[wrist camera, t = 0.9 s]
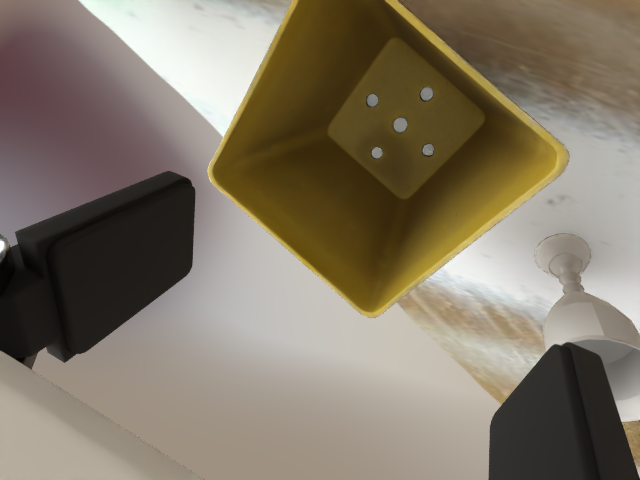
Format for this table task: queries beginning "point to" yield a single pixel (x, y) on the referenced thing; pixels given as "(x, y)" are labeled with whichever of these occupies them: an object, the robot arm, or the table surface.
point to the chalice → (591, 321)
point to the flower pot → (376, 131)
